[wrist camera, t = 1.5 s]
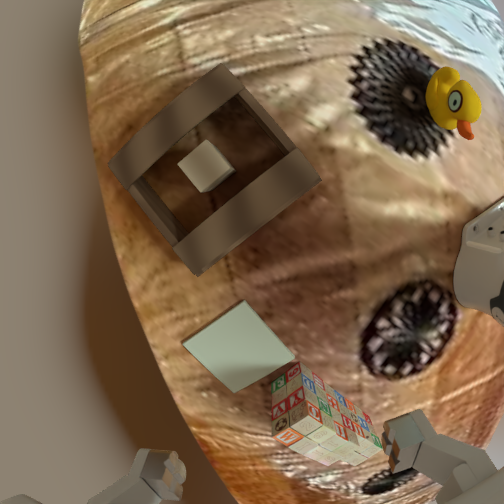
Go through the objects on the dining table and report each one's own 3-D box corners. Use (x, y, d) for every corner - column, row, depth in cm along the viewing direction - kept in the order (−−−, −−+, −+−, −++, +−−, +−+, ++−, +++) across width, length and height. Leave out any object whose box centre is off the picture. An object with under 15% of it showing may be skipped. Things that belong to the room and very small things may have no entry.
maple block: (216, 147, 34) (206, 139, 28) (236, 170, 35) (230, 167, 28) (192, 167, 35) (177, 164, 28) (212, 190, 36) (200, 192, 29)
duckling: (449, 148, 33) (491, 144, 23) (422, 140, 33) (463, 132, 23) (445, 81, 30) (482, 64, 20) (418, 71, 30) (453, 49, 20)
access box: (226, 77, 32) (220, 61, 27) (314, 180, 35) (322, 180, 30) (125, 164, 35) (105, 163, 30) (205, 265, 38) (197, 278, 33)
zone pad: (244, 299, 39) (244, 301, 39) (294, 355, 41) (295, 358, 40) (183, 342, 41) (182, 344, 41) (234, 391, 43) (234, 393, 43)
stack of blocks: (370, 415, 44) (388, 461, 32) (344, 432, 46) (357, 479, 34) (298, 360, 41) (308, 416, 29) (269, 382, 43) (270, 438, 31)
